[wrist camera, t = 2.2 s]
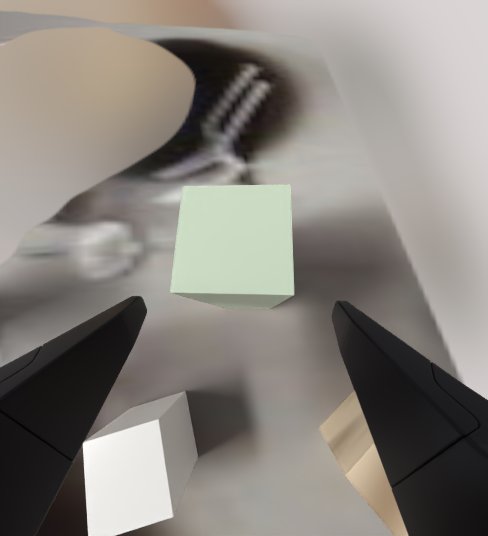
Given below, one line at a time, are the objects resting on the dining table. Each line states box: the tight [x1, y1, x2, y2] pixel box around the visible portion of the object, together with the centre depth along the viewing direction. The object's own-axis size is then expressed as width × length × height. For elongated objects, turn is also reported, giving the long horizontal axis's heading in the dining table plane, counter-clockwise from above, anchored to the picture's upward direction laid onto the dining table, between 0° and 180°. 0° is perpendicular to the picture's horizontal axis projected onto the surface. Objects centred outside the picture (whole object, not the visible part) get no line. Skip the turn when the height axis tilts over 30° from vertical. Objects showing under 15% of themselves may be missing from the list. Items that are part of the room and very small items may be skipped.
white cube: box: [83, 391, 198, 536], centre depth 14 cm, size 5×5×5 cm
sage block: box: [170, 185, 294, 309], centre depth 13 cm, size 4×4×12 cm
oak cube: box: [319, 390, 408, 536], centre depth 13 cm, size 5×5×5 cm
